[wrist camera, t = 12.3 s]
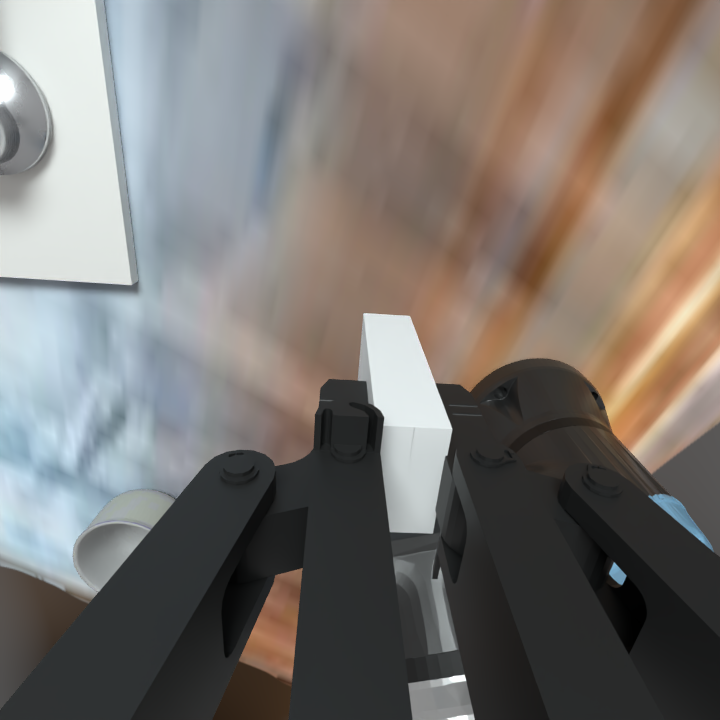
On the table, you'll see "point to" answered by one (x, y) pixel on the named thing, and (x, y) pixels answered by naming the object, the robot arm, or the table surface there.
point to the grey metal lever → (21, 119)
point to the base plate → (67, 151)
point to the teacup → (117, 534)
